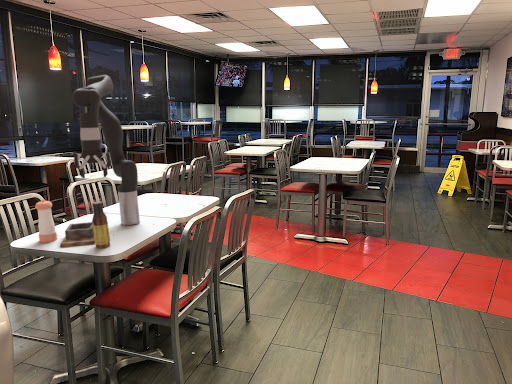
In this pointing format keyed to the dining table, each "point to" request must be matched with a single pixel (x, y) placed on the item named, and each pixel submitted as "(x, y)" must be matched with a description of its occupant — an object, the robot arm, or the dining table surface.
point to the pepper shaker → (46, 222)
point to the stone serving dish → (78, 235)
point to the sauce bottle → (100, 226)
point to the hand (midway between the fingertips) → (94, 177)
